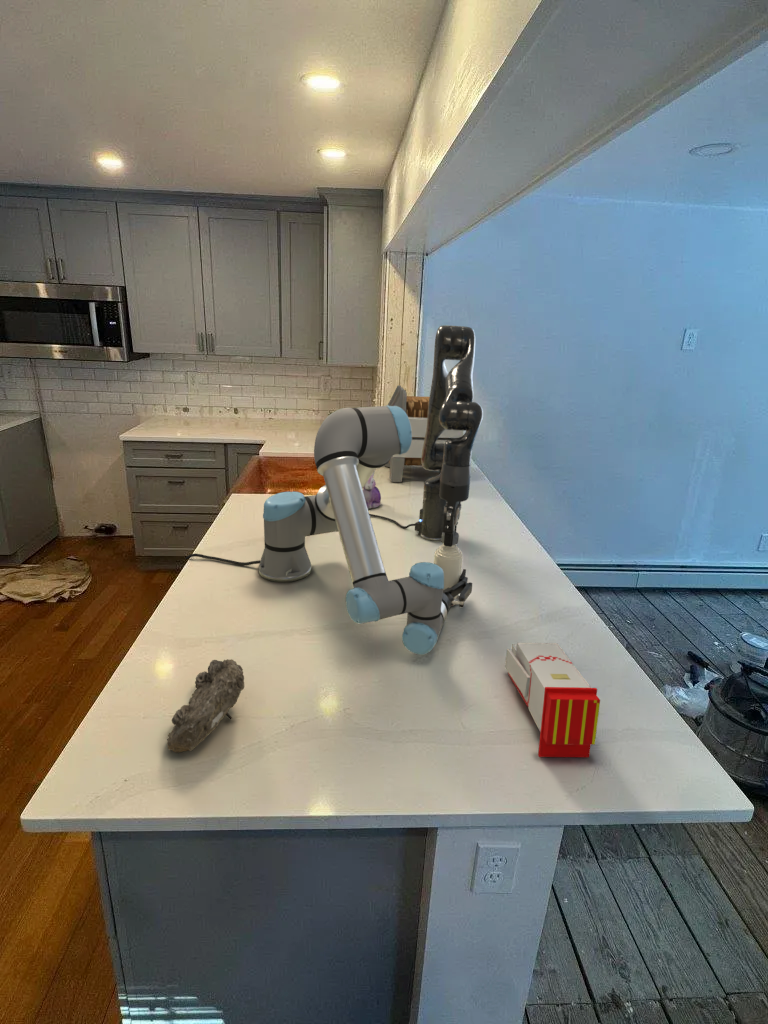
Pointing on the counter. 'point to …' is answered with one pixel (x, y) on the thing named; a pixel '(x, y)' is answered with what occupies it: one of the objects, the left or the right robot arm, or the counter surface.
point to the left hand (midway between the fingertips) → (449, 571)
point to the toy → (555, 698)
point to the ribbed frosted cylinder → (449, 564)
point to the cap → (455, 538)
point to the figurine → (371, 493)
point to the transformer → (414, 432)
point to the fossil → (206, 705)
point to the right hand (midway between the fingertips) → (449, 541)
